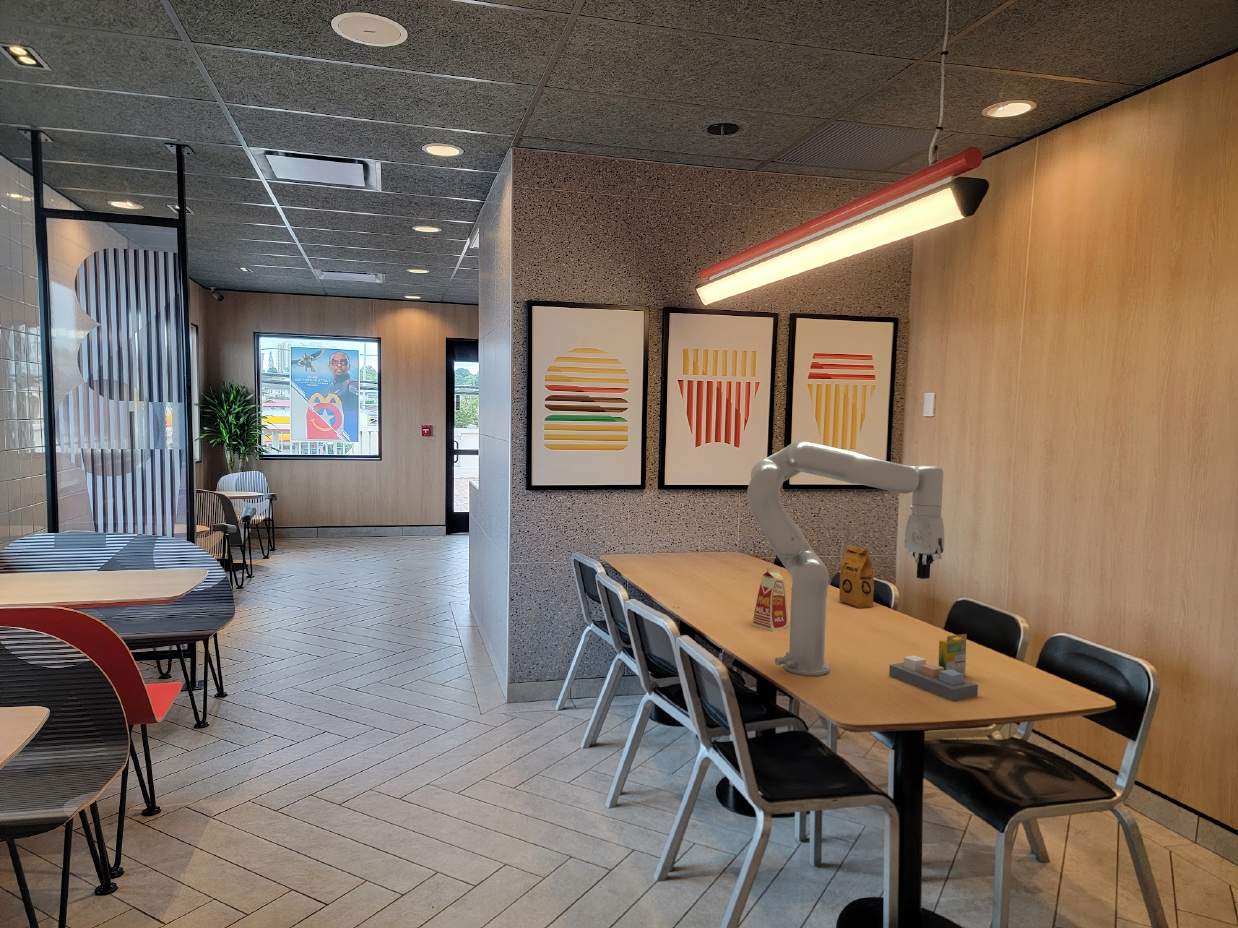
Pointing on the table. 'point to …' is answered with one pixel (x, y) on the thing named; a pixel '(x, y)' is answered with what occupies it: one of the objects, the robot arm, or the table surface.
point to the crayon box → (953, 653)
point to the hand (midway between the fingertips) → (923, 577)
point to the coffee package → (856, 578)
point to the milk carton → (771, 603)
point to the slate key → (951, 677)
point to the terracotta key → (931, 670)
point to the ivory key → (914, 663)
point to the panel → (934, 683)
